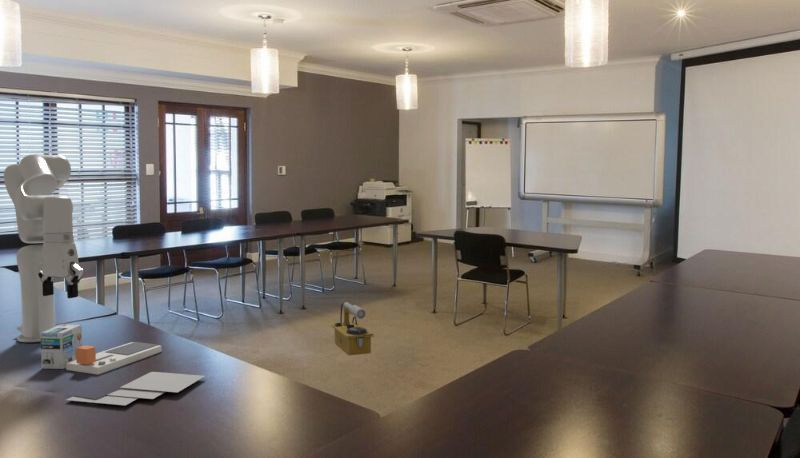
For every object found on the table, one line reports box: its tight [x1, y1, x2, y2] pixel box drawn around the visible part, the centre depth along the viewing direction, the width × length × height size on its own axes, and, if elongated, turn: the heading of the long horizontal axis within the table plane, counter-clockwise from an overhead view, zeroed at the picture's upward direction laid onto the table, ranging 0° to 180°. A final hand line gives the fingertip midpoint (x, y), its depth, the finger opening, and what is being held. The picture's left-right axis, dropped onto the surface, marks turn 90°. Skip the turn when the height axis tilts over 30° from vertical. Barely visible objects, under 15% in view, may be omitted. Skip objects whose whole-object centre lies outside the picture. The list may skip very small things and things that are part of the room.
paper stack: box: [66, 371, 205, 406], centre depth 160 cm, size 23×25×1 cm
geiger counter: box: [331, 301, 375, 356], centre depth 203 cm, size 9×26×15 cm, turn 22°
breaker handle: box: [76, 344, 97, 365], centre depth 174 cm, size 4×3×4 cm
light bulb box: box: [40, 324, 83, 370], centre depth 180 cm, size 11×7×11 cm, turn 179°
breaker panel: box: [65, 341, 163, 376], centre depth 184 cm, size 12×25×3 cm, turn 160°
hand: (60, 296), depth 179 cm, fingers open, 9 cm apart
